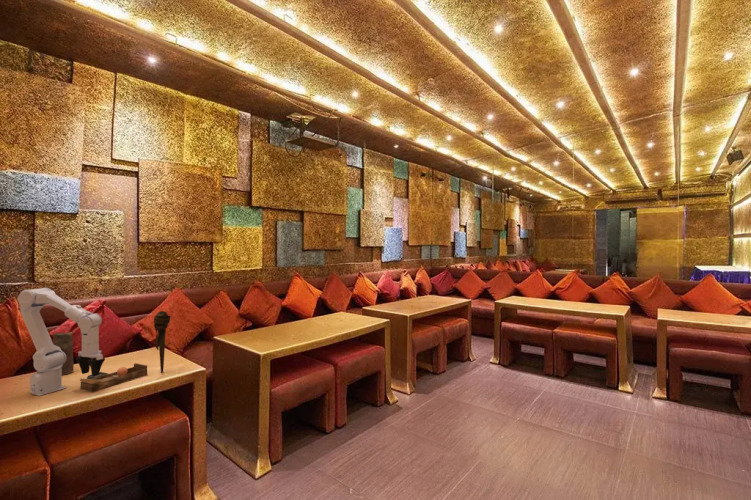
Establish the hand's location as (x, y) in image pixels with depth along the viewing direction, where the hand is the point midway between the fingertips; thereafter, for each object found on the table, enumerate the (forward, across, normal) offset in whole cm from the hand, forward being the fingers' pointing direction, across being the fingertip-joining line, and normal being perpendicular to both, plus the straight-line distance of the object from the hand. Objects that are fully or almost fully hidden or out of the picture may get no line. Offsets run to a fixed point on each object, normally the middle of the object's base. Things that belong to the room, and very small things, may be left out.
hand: (90, 374), depth 153 cm
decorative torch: (+7, -8, -26) cm, 28 cm away
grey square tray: (+6, +9, -8) cm, 13 cm away
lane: (+6, 0, -10) cm, 11 cm away
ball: (+3, 0, -13) cm, 13 cm away
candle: (+7, +36, -6) cm, 37 cm away
